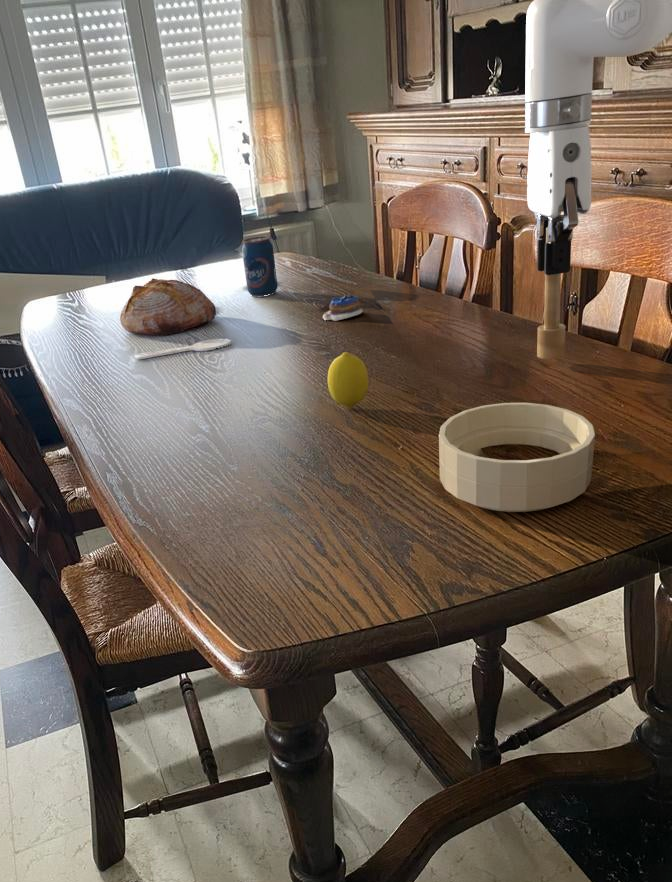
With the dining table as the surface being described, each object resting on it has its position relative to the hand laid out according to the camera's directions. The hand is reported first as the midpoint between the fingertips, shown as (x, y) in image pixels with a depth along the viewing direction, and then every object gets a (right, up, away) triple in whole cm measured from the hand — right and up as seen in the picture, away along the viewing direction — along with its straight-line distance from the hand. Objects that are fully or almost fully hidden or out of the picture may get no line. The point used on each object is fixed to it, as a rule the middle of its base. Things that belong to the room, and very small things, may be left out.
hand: (553, 270), depth 99 cm
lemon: (-26, -18, +5) cm, 32 cm away
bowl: (-11, -29, -19) cm, 36 cm away
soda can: (-41, +18, +72) cm, 85 cm away
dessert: (-24, +6, +48) cm, 54 cm away
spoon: (-54, -2, +39) cm, 67 cm away
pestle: (+2, -10, +5) cm, 12 cm away
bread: (-59, +7, +57) cm, 83 cm away
